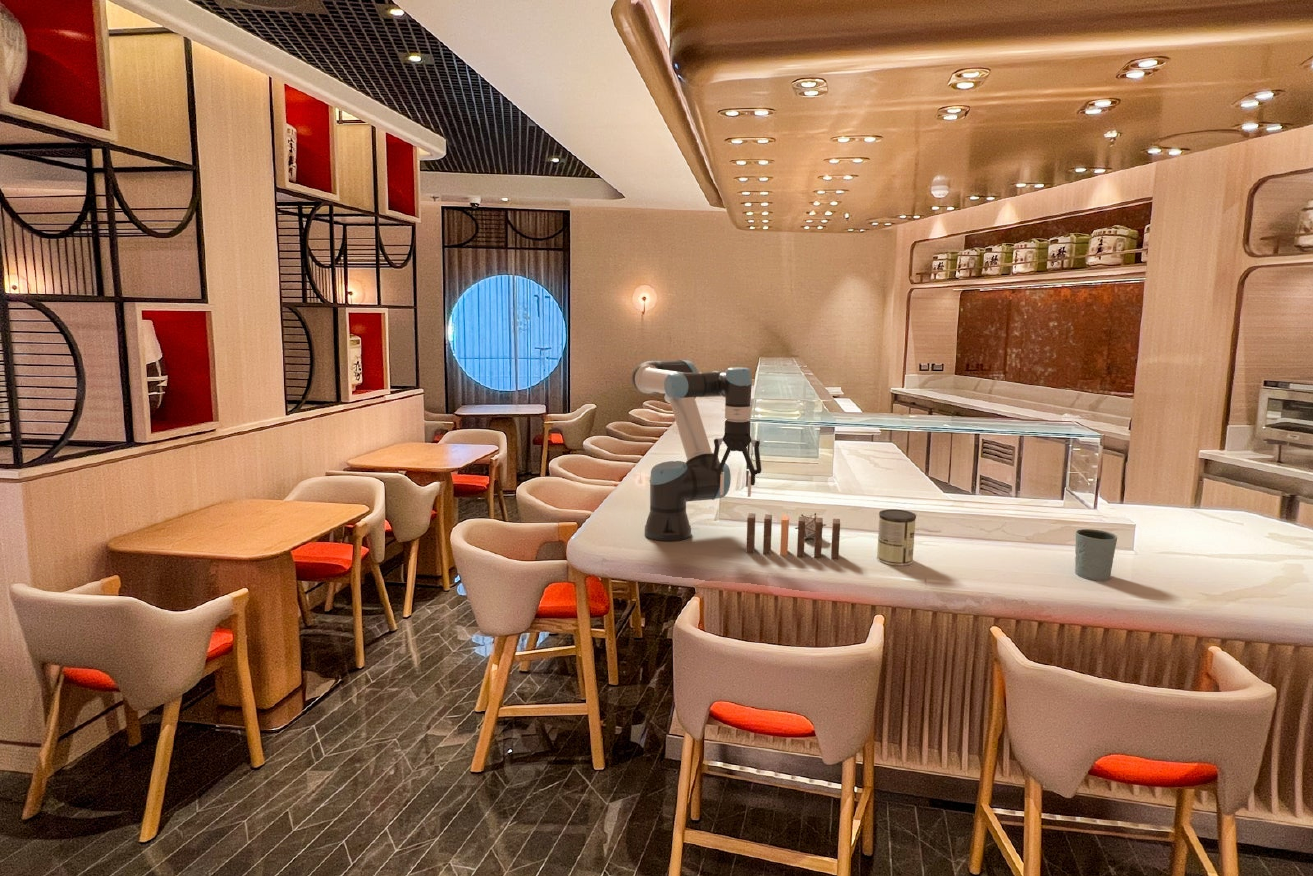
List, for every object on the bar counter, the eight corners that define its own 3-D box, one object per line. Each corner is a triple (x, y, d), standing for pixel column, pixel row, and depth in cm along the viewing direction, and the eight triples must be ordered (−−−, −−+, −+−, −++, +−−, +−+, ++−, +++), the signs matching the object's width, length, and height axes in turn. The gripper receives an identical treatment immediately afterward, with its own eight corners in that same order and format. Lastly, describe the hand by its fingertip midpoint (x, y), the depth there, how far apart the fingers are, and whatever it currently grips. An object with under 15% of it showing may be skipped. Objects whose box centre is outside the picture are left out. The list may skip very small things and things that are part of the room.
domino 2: (763, 554, 228) (764, 518, 226) (764, 549, 233) (765, 514, 231) (769, 554, 228) (771, 519, 226) (770, 549, 233) (772, 514, 231)
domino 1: (746, 552, 229) (747, 517, 227) (747, 547, 234) (748, 513, 232) (753, 553, 229) (754, 518, 227) (754, 548, 234) (755, 513, 232)
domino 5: (814, 558, 225) (815, 522, 223) (814, 552, 230) (815, 517, 228) (820, 558, 225) (822, 522, 223) (820, 553, 229) (822, 517, 228)
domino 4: (796, 556, 226) (798, 520, 224) (797, 551, 231) (798, 516, 229) (803, 557, 226) (805, 521, 224) (804, 551, 230) (805, 516, 229)
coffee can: (877, 552, 230) (880, 507, 228) (913, 556, 227) (916, 511, 224) (875, 563, 221) (878, 516, 218) (912, 567, 217) (916, 520, 215)
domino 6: (831, 559, 224) (833, 523, 222) (831, 553, 229) (832, 518, 227) (838, 559, 224) (840, 523, 222) (837, 554, 228) (839, 519, 227)
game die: (814, 551, 243) (825, 532, 236) (789, 540, 244) (800, 521, 237) (820, 531, 249) (831, 512, 242) (796, 521, 250) (806, 502, 243)
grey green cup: (1095, 583, 206) (1100, 541, 204) (1062, 571, 215) (1067, 530, 213) (1121, 578, 210) (1126, 536, 208) (1087, 567, 219) (1092, 526, 217)
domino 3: (780, 555, 227) (781, 519, 225) (780, 550, 232) (782, 515, 230) (786, 555, 227) (788, 520, 225) (787, 550, 231) (789, 515, 230)
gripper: (701, 420, 224) (700, 495, 228) (771, 423, 220) (768, 500, 224) (705, 416, 231) (703, 489, 235) (773, 419, 227) (770, 493, 231)
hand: (735, 494), depth 229 cm, fingers open, 8 cm apart
